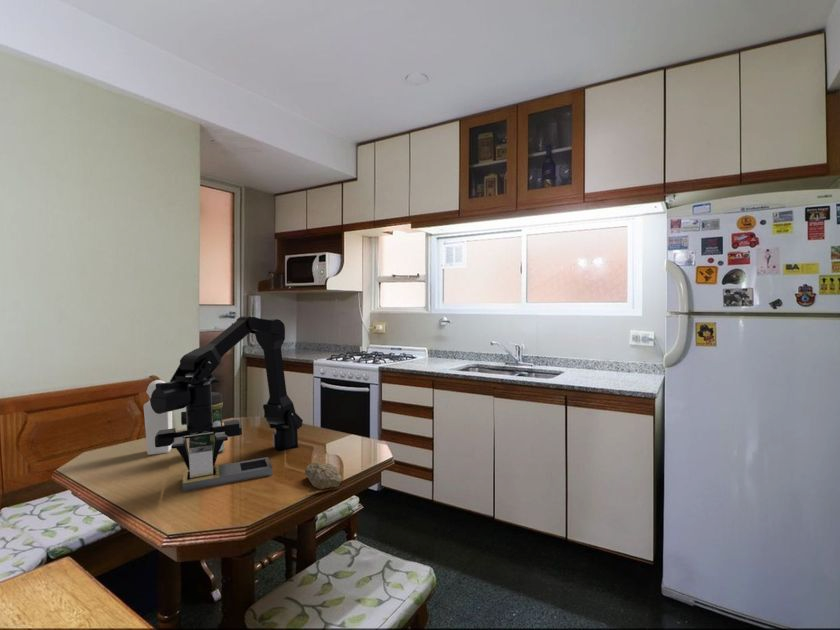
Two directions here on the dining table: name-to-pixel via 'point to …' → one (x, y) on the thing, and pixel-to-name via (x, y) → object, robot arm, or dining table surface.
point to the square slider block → (201, 462)
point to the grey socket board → (229, 474)
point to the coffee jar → (217, 421)
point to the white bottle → (155, 423)
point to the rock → (323, 475)
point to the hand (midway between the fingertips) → (201, 467)
